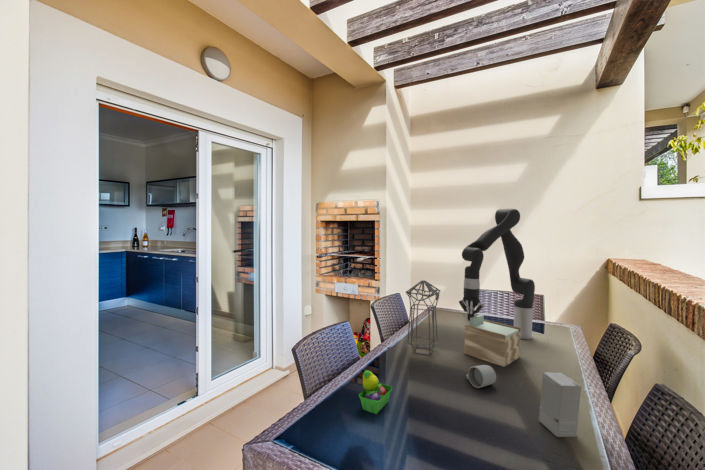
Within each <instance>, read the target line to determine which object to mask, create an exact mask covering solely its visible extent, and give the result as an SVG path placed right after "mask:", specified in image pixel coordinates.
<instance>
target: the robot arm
mask: <svg viewBox="0 0 705 470" xmlns="http://www.w3.org/2000/svg"><path fill="white" fill-rule="evenodd" d="M494 220H495V223H496V225H495V226H493V227H491V228H489V229H487V230H485V232H483V233H482V234H481V235H480V236H479V237H478V238H477V239H475V240H474V241H473V242H471V243H470V244H468V245H466V247H464V248H463V250H462V252H461V258H462V259H463V260H464V261H467V262H471V263H470V265H468V266H465V268H464V280H463V297H462V300H459V301H458V303H459V305H460V306H461V309H462V310H463V312H466V314H467V320H468V322H470V318H471V317H474V316H475V315H476V314H479V312H480V311H481V310H482V309H483V308H484V307H485V305H484V304H482V303H481V300H480V291H481V290H480V289H481V288H480V286H481V285H480V284H481V283H480V271H481V267H482V265H483V262H484V252H486V251H487V250H489V248H491V246H492V245H493V244H494V243H496V241H497V240H498V239H499V238H501V239H500V240H501V241H502V246H503V250H504V251H503V252H504V255H505V259H506V262H507V268H508V272H509V281H510V287H511V290H512V292H513V293H514V294H517V295H522V298H521V299H515V300H514V302H513V326H515V327H519V328H521V330H520V340H531V339H533V311H534V310H533V306H534V301H535V293H536V292H535V289H536V286H535V282H534V280H533V279H530V278H526V277H525V278H523V277H521V276H520V268H521V266H522V264H523V262H524V260H525V252H524V248H523V246H522V243H521V242H520V241H519V240H518V238H517V237H516V236H515V235H514V234H513V232H512V230H511V229H512V228H514V227H515V226H517V224H519V222H520V221H521V213H520V211H519V210H518V209H517V208H500V209H497V210H496V211H495V215H494Z"/></svg>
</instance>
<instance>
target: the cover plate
mask: <svg viewBox="0 0 705 470" xmlns="http://www.w3.org/2000/svg"><path fill="white" fill-rule="evenodd" d="M484 319H485V317H484V314H477V315H474V317H471V318H470V321H469V326H472V327H476V328H480V329H484V330H488V331H491V332H495V333H499V334H503V335H506V338H508V337H510V336H512V335H514V334H516V333H518V332H519V330H518V329H514V328H510V327H506V326H502V325H497V324H493V323H489V322H485V321H484ZM506 338H505V339H506Z"/></svg>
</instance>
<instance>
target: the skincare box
mask: <svg viewBox="0 0 705 470" xmlns="http://www.w3.org/2000/svg"><path fill="white" fill-rule="evenodd" d="M581 394H582V385H581V384H579V383H577V382H575V381H574V380H573V378H571V377H568V376H567V375H565V374H564V373H563V372H551V371H550V372H549V371H548V372H547V371H545V372H543V373H542V383H541V393H540V402H539V411H538V412H539V413H538V421H539V422H540V423H541V424H542V425H543V426H544V427H545V428H546V429H547V430H549V431H550V432H551V433H552V434H553V435H554V436H555V437H556V438H576V437H577V436H578V435H577V434H578V425H579V413H580V405H581V404H580V402H581Z"/></svg>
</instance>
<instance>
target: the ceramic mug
mask: <svg viewBox="0 0 705 470" xmlns="http://www.w3.org/2000/svg"><path fill="white" fill-rule="evenodd" d="M466 379H467V380H468V381H469V382H470V384H471V385H472V387H474V388H477V389H481V388H484V387H487V386H490V385H491V386H492V385H493V384H494V383H495V382H497V381H496V380H497V373H496V371H495V370H494V368H493V367H492V366H490V365H487V364H481V365H474V366H471V367H469V369H468V370H467V374H466Z"/></svg>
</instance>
